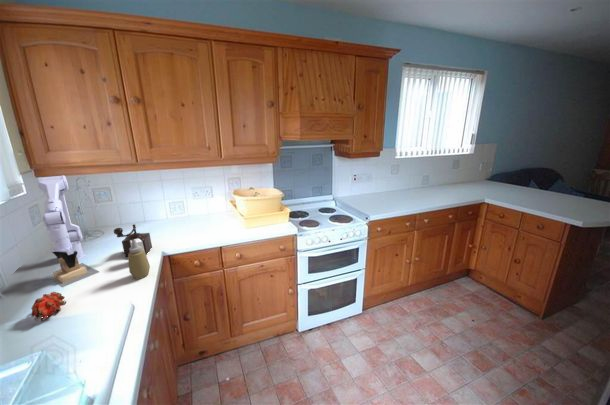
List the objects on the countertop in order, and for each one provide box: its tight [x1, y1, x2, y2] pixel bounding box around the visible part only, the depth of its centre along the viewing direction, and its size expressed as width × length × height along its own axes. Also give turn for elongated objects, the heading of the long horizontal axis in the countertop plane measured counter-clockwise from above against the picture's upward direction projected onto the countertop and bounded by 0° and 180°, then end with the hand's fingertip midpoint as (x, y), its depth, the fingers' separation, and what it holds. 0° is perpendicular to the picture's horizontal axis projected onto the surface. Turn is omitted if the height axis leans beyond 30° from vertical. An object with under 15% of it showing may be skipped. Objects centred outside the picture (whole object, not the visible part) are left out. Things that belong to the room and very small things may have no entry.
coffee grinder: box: [113, 224, 153, 258], centre depth 138 cm, size 16×11×18 cm
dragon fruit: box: [31, 291, 67, 321], centre depth 95 cm, size 8×8×12 cm
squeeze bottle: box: [127, 240, 151, 280], centre depth 118 cm, size 8×8×18 cm
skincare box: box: [130, 238, 144, 250], centre depth 131 cm, size 6×4×12 cm
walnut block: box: [57, 257, 80, 273], centre depth 119 cm, size 5×5×6 cm
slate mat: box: [46, 262, 100, 288], centre depth 121 cm, size 18×14×1 cm
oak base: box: [52, 263, 88, 283], centre depth 120 cm, size 9×9×3 cm
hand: (68, 265), depth 118 cm, fingers open, 7 cm apart
